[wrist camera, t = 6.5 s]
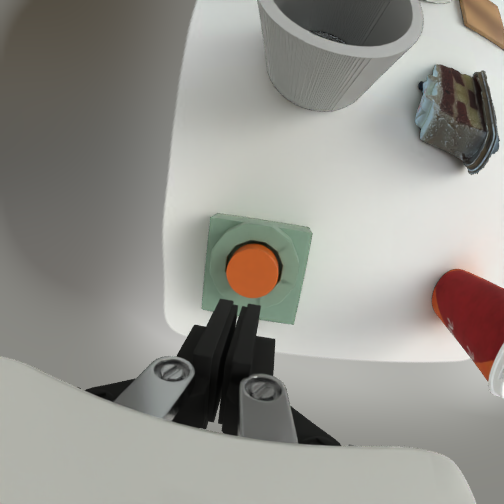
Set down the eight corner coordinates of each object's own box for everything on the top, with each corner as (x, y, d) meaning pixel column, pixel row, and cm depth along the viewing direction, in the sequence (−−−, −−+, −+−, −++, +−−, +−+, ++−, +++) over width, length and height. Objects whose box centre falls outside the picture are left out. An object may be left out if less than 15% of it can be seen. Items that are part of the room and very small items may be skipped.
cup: (381, 101, 21) (448, 54, 10) (286, 122, 23) (291, 72, 11) (345, 20, 19) (377, -56, 8) (253, 37, 21) (235, -45, 9)
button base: (217, 210, 25) (204, 216, 21) (309, 224, 25) (316, 233, 20) (208, 297, 27) (195, 318, 23) (292, 311, 27) (294, 335, 22)
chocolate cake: (422, 42, 19) (431, 69, 13) (482, 67, 17) (516, 109, 11) (407, 114, 27) (403, 171, 21) (460, 135, 25) (473, 200, 19)
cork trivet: (454, -17, 15) (457, -19, 14) (494, 8, 15) (497, 6, 14) (464, 25, 17) (467, 23, 16) (505, 51, 17) (508, 49, 16)
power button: (233, 239, 21) (229, 245, 20) (282, 247, 21) (282, 253, 19) (227, 285, 22) (223, 294, 20) (274, 293, 22) (273, 302, 20)
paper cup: (415, 327, 26) (480, 414, 12) (431, 256, 24) (525, 316, 10) (467, 324, 25) (535, 393, 12) (485, 260, 23) (572, 309, 10)
